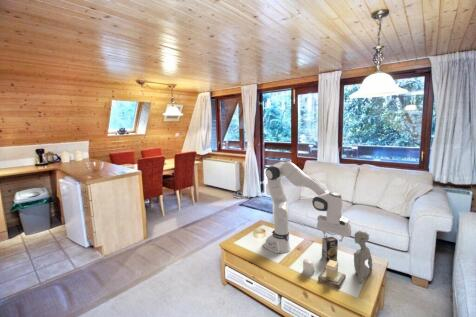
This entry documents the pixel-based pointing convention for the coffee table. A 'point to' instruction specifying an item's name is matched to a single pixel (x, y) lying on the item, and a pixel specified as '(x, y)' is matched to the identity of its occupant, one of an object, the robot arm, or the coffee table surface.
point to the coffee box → (329, 249)
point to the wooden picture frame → (332, 282)
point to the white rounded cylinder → (308, 267)
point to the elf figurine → (362, 256)
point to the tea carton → (332, 269)
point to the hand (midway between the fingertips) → (333, 239)
